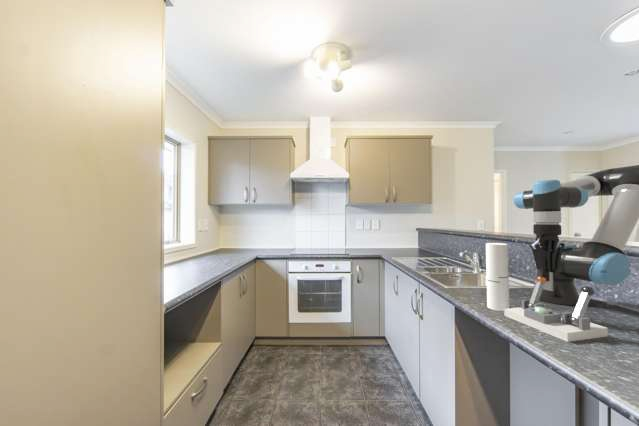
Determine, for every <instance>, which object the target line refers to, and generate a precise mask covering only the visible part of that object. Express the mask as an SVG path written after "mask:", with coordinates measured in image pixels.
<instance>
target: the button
mask: <svg viewBox="0 0 639 426" xmlns="http://www.w3.org/2000/svg"><path fill="white" fill-rule="evenodd" d="M549 309H550V308H548V309H547V307H545V308H544V307H535V312H538V313H541V314H549Z"/></svg>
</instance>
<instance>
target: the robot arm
mask: <svg viewBox="0 0 639 426" xmlns="http://www.w3.org/2000/svg"><path fill="white" fill-rule="evenodd" d="M596 196H598V197H599V196H601V197H602V196H605V197H606V196H613V198H612V200H611V203H610V204H609V206H608V208H607V209H606V211H605V214H604V216H603V217H602V220H601V221H600V222H599V225H598V227H597V228H596V231H595V233H594V234H593V236H592V238H591V240H588V241H585V242H583V244H582V245H581V247H580V248H579V249H577V248H574V246H573V244H565V242H561V241H560V239H559V236H561V235H562V225H561V223H562V208H570V209H571V208H573V209H574V208H575V209H576V208H580V207H583V206H584V205H586V204H587V203H588V201H589V198H590V197H596ZM513 203H514V206H515V207H516V208H518V209H519V210H520V209H522V210H523V209H526V210H529V209H532V211H533V217H532V218H533V223H535V224H533V226H532V227H533V229H532V230H533V231H532V233H533V234H534V235H535V241H534V242H533V243H530V244H529V247H530V248H531V251H532V255H533V259H534V263H535V266H536V278H537V277H538V276H544V277H545V278H546V280H547V281H546V283H545V284H544V287H543V290H542V293H541V296H540V299H539V301H543V302H546V303H551V304H556V305H565V306H566V305H567V306H576V305H577V303H578V300H579V298H580V294H579V291H578V288H577V287H576V285H575V279H576V280H581V281H585V282H590V283H595V284H598V285H608V286H614V285H615V286H616V285H619V284H621V283H623V282H624V281H626V279H627V278H628V277H629V275H630V274H631V266H632V263H631V260H630V258H629V257H628V255H627V253H626V251H624V248H625V246H626V245H627V243H628V242H629V239H630V236H631V235H632V233H633V231H634V229H635V227H636V225H637V223H638V221H639V164H636V165H635V164H634V165H629V166H621V167H614V168H607V169H603V170H600V171H596V172H593V173H589V174H586V175H582V176H579V177H577V178H576V179H574V180H570V181H566V182H561V181H560V180H557V179H547V180H546V179H545V180H543V179H542V180H538V181H535V182H534V183H533V185H532V189H531V190H523V191H518V192H516V193H515V195H514V196H513ZM535 284H536V282H535ZM535 284H534V286H533V289H532V293H533V290H534V287H535ZM532 293H531V294H532Z"/></svg>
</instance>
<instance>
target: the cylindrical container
mask: <svg viewBox="0 0 639 426" xmlns="http://www.w3.org/2000/svg"><path fill="white" fill-rule="evenodd" d="M485 265H486V266H485V267H486V268H485V269H486V270H485V271H486V278H485V279H486V307H487V308H488V309H490V310H493V311H496V312H504V309H507V308H510V283H509V281H510V277H509V246H508V243H503V242H501V243H500V242H486V243H485Z"/></svg>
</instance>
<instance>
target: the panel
mask: <svg viewBox="0 0 639 426" xmlns="http://www.w3.org/2000/svg"><path fill="white" fill-rule="evenodd" d="M530 299H531V298H527V299H521V306H518V307H509V308H507V309H504V311H503V312H504V313H503V314H504V317H506V318H509V319H511V320H514V321H516V322H519V323H521V324H523V325H526V326H529V327H531V328H533V329H536V330H538V331H540V332H543V333H545V334H548V335H550V336H553V337H555V338H558V339H559V340H562V341H565V342H566V343H568V342H577V341H585V340H591V339H599V338H606V337H609V330H608V329H609V328H608V327H606V326H603V325H600V324H597V323H593V322H591V318H590V317H583V318H579V326H576V325H573V324H570V323H568V322H567V317H568V316H569V315H571V316H572V315H573V313H574V312H571V311H565V310H561V309H550V308H547V307H544V303H542V302H538V303H537V304H534V308H526V306H525V305H526V303H527V302H530ZM535 307H544V308H547V309H549V314H541V313H538V312H535Z"/></svg>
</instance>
